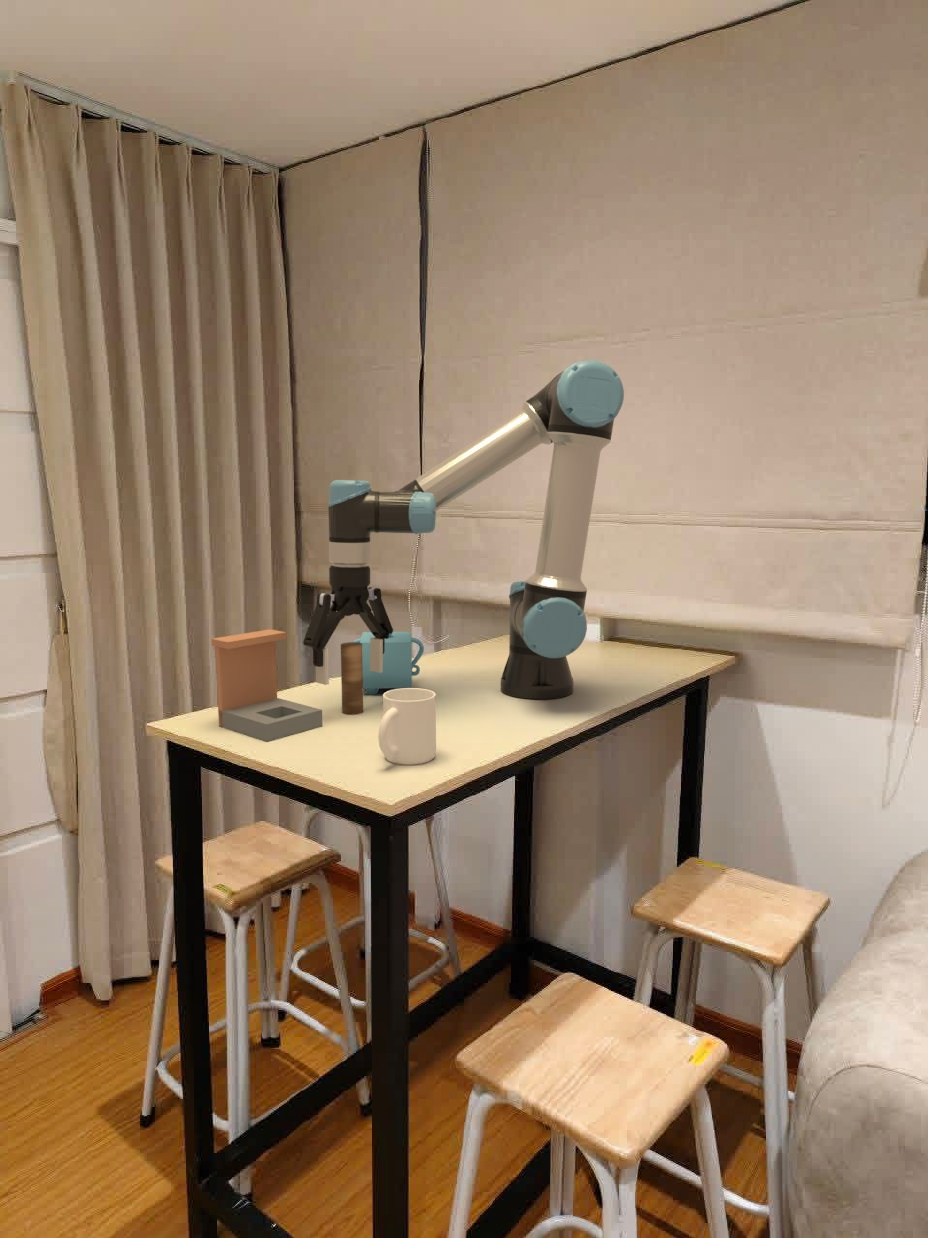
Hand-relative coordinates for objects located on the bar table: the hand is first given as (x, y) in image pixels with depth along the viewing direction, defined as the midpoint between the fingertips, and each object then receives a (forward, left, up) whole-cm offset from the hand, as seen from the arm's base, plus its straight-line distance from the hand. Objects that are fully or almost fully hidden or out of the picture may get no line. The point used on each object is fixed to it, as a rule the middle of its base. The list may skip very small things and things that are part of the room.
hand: (350, 677), depth 161 cm
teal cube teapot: (+10, -19, -7) cm, 23 cm away
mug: (-27, +14, -7) cm, 31 cm away
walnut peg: (0, 0, -7) cm, 7 cm away
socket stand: (+4, +16, -7) cm, 18 cm away
